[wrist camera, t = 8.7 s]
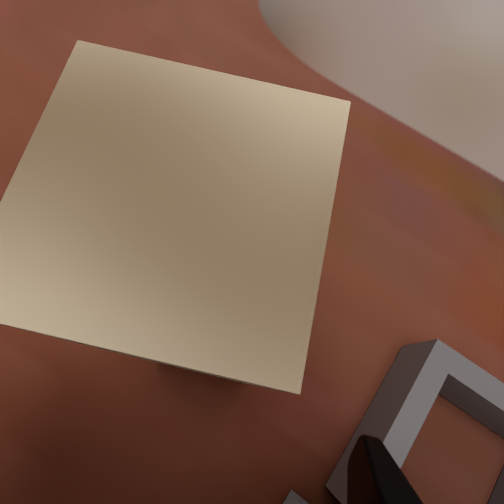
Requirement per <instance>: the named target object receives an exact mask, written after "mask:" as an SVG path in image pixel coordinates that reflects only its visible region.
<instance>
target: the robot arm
mask: <svg viewBox="0 0 504 504" xmlns="http://www.w3.org/2000/svg"><path fill="white" fill-rule="evenodd" d="M347 504H423V503H422V501H421V500H420V498H419V497H418V495H417V494H416V492H415V490H414V489H413V487H412V486H411V484H410V483H409V481H408V480H407V478H406V477H405V475H404V474H403V472H402V471H401V469H400V468H399V466H398V465H397V463H396V462H395V460H394V459H393V457H392V456H391V454H390V453H389V451H388V450H387V448H386V447H385V445H384V444H383V442H382V441H381V440H380V439H379V438H377V437H373V436H369V435H365V434H362V435H360V436H359V438H358V440H357V442H356V444H355V446H354V448H353V450H352V452H351V454H350V456H349V460H348V466H347Z"/></svg>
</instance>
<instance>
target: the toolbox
mask: <svg viewBox="0 0 504 504" xmlns="http://www.w3.org/2000/svg"><path fill="white" fill-rule="evenodd" d="M438 394H440V395H441V396H443V397H444V398H446V399H447V400H448V401H450V402H451V403H453V404H454V405H456V406H457V407H458V408H460V409H461V410H463V411H464V412H466V413H467V414H469V415H470V416H471V417H473V418H474V419H476V420H477V421H479V422H480V423H482V424H483V425H484V426H486V427H487V428H489V429H490V430H492V431H493V432H495V433H496V434H497V435H499V436H500V437H502V438H503V439H504V383H502V382H501V381H499V380H498V379H497V378H495V377H494V376H492V375H491V374H489V373H488V372H486V371H485V370H483V369H482V368H480V367H479V366H477V365H476V364H474V363H473V362H471V361H470V360H468V359H467V358H465V357H464V356H462V355H461V354H459V353H458V352H456V351H455V350H453V349H452V348H450V347H449V346H447V345H446V344H444V343H443V342H441V341H440V340H439V339H435V340H430V341H425V342H420V343H415V344H410V345H405V346H402V348H401V350H400V352H399V354H398V355H397V357H396V359H395V361H394V363H393V364H392V366H391V368H390V370H389V372H388V373H387V375H386V377H385V379H384V381H383V382H382V384H381V386H380V388H379V390H378V391H377V393H376V395H375V397H374V399H373V400H372V402H371V404H370V406H369V408H368V409H367V411H366V413H365V415H364V417H363V418H362V420H361V422H360V424H359V426H358V427H357V429H356V431H355V433H354V435H353V436H352V438H351V440H350V442H349V444H348V445H347V447H346V449H345V451H344V453H343V454H342V456H341V458H340V460H339V462H338V463H337V465H336V467H335V469H334V471H333V472H332V474H331V476H330V478H329V480H328V481H327V483H326V485H325V486H326V487H327V488H328V489H329V491H330V492H331V493H332V494H333V495H334V496H335V497H336V498H337V499H338V500H339V501H340V503H341V504H347V466H348V460H349V456H350V454H351V452H352V450H353V448H354V446H355V444H356V442H357V440H358V438H359V436H360V435H362V434H365V435H369V436H373V437H377V438H379V439H380V440H381V441H382V442H383V444H384V445H385V447H386V448H387V450H388V451H389V453H390V454H391V456H392V457H393V459H394V460H395V462H396V463H397V465H398V466H399V468H401V466H402V464H403V462H404V460H405V458H406V456H407V454H408V452H409V451H410V449H411V447H412V445H413V443H414V441H415V439H416V437H417V435H418V433H419V431H420V429H421V427H422V425H423V423H424V421H425V419H426V417H427V415H428V413H429V411H430V409H431V407H432V405H433V403H434V401H435V399H436V397H437V395H438ZM283 504H309V503H308V502H307V501H305V500H304V499H303V498H301V497H300V496H299V495H298V494H296V493H295V492H294V491H292V490H290V492H289V494H288V496H287V497H286V499H285V501H284V502H283ZM488 504H504V467H503V469H502V471H501V474H500V476H499V478H498V481H497V483H496V486H495V488H494V490H493V493H492V495H491V497H490V500H489V502H488Z"/></svg>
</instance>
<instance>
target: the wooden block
mask: <svg viewBox="0 0 504 504" xmlns="http://www.w3.org/2000/svg"><path fill="white" fill-rule="evenodd" d="M350 103H351V102H350V101H346V100H342V99H337V98H333V97H328V96H324V95H319V94H315V93H310V92H306V91H302V90H297V89H293V88H288V87H284V86H279V85H275V84H271V83H266V82H262V81H257V80H253V79H248V78H244V77H240V76H235V75H231V74H226V73H222V72H217V71H213V70H208V69H204V68H200V67H195V66H191V65H186V64H182V63H177V62H173V61H169V60H164V59H160V58H155V57H151V56H146V55H142V54H138V53H133V52H129V51H124V50H120V49H115V48H111V47H106V46H102V45H98V44H93V43H89V42H84V41H80V40H78V41H77V43H76V45H75V47H74V49H73V51H72V53H71V55H70V57H69V60H68V62H67V64H66V66H65V68H64V70H63V72H62V74H61V76H60V78H59V81H58V83H57V85H56V87H55V89H54V91H53V93H52V95H51V97H50V99H49V101H48V104H47V106H46V108H45V110H44V112H43V114H42V116H41V118H40V120H39V122H38V125H37V127H36V129H35V131H34V133H33V135H32V137H31V139H30V141H29V143H28V145H27V148H26V150H25V152H24V154H23V156H22V158H21V160H20V162H19V164H18V166H17V169H16V171H15V173H14V175H13V177H12V179H11V181H10V183H9V185H8V187H7V189H6V192H5V194H4V196H3V198H2V200H1V202H0V324H2V325H7V326H11V327H15V328H19V329H23V330H27V331H31V332H35V333H39V334H43V335H47V336H51V337H55V338H59V339H64V340H68V341H72V342H76V343H80V344H84V345H88V346H92V347H96V348H100V349H104V350H108V351H112V352H116V353H120V354H125V355H129V356H133V357H137V358H141V359H145V360H149V361H153V362H157V363H161V364H166V365H170V366H174V367H178V368H182V369H187V370H191V371H195V372H199V373H204V374H208V375H212V376H216V377H220V378H225V379H229V380H233V381H237V382H242V383H246V384H251V385H256V386H261V387H265V388H270V389H275V390H280V391H285V392H290V393H295V394H300V392H301V386H302V380H303V374H304V369H305V363H306V357H307V351H308V346H309V340H310V334H311V328H312V323H313V317H314V311H315V305H316V299H317V294H318V288H319V282H320V276H321V271H322V265H323V259H324V253H325V248H326V242H327V236H328V230H329V224H330V219H331V213H332V207H333V201H334V196H335V190H336V184H337V178H338V173H339V167H340V161H341V155H342V150H343V144H344V138H345V132H346V126H347V121H348V115H349V109H350Z"/></svg>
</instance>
